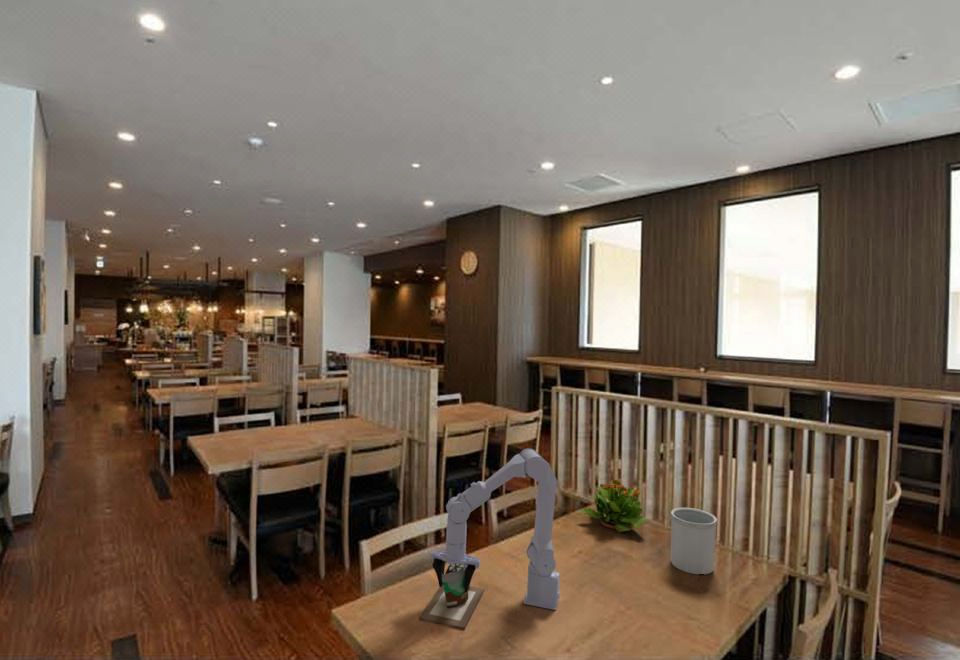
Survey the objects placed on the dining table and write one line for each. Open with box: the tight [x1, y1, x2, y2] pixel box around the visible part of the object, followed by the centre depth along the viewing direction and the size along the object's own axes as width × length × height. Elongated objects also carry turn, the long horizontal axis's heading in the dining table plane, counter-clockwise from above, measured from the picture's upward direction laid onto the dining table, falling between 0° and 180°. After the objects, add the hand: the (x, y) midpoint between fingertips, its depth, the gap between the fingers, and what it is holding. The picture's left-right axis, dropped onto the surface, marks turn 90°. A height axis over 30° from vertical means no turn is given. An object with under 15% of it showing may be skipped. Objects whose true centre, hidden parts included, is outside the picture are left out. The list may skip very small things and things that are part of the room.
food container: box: [442, 564, 468, 608], centre depth 144 cm, size 12×6×10 cm, turn 168°
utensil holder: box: [670, 507, 718, 575], centre depth 174 cm, size 15×15×18 cm
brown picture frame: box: [418, 585, 485, 631], centre depth 143 cm, size 13×20×1 cm, turn 164°
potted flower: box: [580, 478, 647, 533], centre depth 207 cm, size 25×24×18 cm
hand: (454, 587), depth 143 cm, fingers open, 7 cm apart
